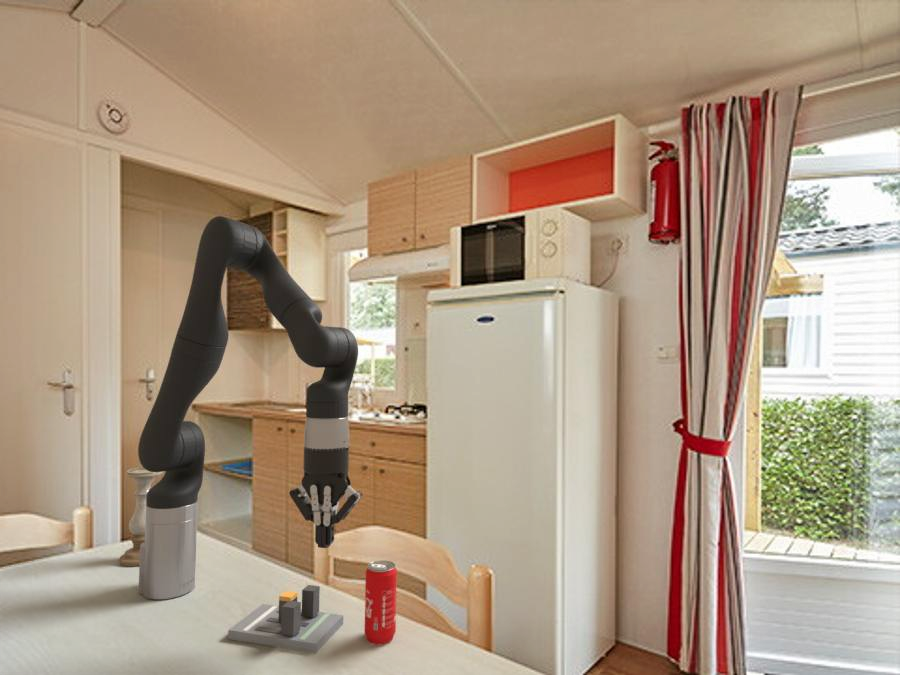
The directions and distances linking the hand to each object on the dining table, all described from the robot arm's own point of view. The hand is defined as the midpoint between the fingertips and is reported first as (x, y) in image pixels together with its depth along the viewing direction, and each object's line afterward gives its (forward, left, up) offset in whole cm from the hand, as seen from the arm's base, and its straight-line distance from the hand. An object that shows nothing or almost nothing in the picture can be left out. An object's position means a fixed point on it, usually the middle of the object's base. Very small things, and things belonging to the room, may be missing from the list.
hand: (324, 546), depth 93 cm
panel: (-7, 0, -15) cm, 16 cm away
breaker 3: (-4, +3, -13) cm, 14 cm away
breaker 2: (-4, -3, -13) cm, 14 cm away
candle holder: (-56, +20, -15) cm, 61 cm away
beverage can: (+9, +2, -15) cm, 18 cm away
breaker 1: (-7, 0, -13) cm, 15 cm away
